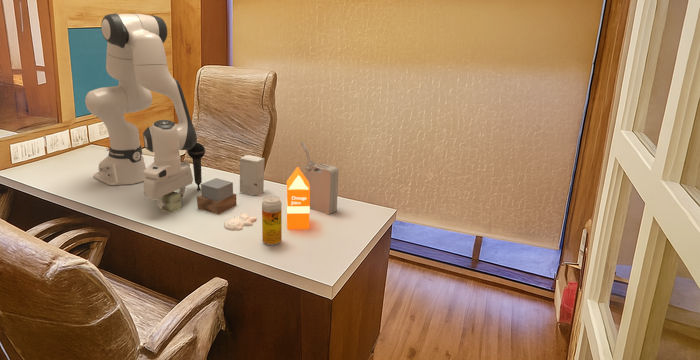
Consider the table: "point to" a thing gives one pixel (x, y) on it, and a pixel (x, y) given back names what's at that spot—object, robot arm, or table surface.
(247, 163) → the skincare box
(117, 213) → the table surface
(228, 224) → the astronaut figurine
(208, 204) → the walnut base block
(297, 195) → the orange juice
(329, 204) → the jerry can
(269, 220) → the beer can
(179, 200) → the sage cube
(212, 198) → the slate top block
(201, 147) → the microphone
